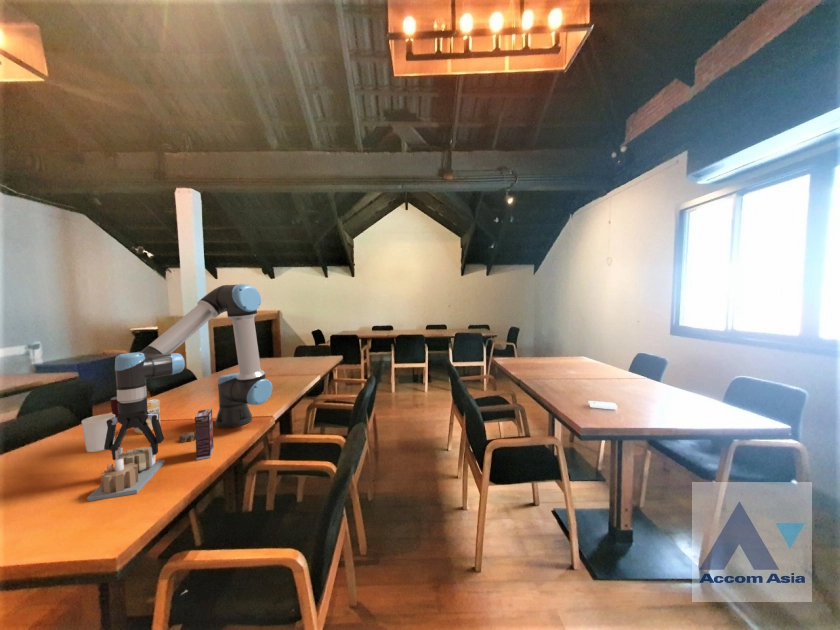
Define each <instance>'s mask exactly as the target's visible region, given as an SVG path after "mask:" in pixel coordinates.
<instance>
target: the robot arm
mask: <svg viewBox="0 0 840 630" xmlns="http://www.w3.org/2000/svg"><path fill="white" fill-rule="evenodd" d="M196 303H197V305H196V306H194V308H193V309H191V310H190V311H189V312H188V313H186V314H185V315H183V317H182V318H180V319H179V320H177V322H175V323H174V324H173V325H171V326H170V327H169V328H168V329H166V330H165V331H164V332H163V333H162V334H161V335H159V336H157V338H155V339H154V340H153V341H152V342H151V343H150V344H149V345H147V346H146V347H145V348H143V349H142V350H140V351H137V352H126V353H120V354H118V355H117V356H116V357H115V359H114V360H115V361H114V373H115V382H116V383H115V384H116V396H117V401H119V403H118V414H119V415H118V417H117V418H111V419H109V420H107V426H108V429H107V434H106V440H105V446H104V449H105V450H104V451H107V450H109V451H111V455H112V456H111V457H112V460H113V461H115V460H117V459H119V455H120V454H121V453H124V452H123V447H121V444H122V442H123V440H124V437H125V435H127V434H126V433H127V432H128V429H133V428H139V429H140V430H141V431H142V432H143V434H142V435H144V437H145V439H146V440H147V441H148V443H149V444H150V445H149V446H147V447H148V449H149V466H152V465H153V464H154V463H155V462H156V461H157V460H156V455H157V454H158V453H159V444H161V443H162V442H163V441H164V440H165V436H164V434H163V429H162V427H161V422H160V423H159V413H156V414H149V413H148V411H147V401H148V398H146V397H147V394H148V393H147V380H149V379H155V378H161V377H165V376H173V375H175V374H180V373H181V372H183V371H184V369H185V365H186V364H185V358H184V357H183V355H182V354H181V353H180V352H179V353H178V352H176V353H175V351H176V349H179V347H180V346H181V345H183V344H184V343H185V342H186V341H187V340H188V339H189V338H190V337H192V336H193V335H194V334H195V333H196V332H197V331H198V330H199V329H201V328H202V327H203V326H205V324H207V323H208V322H209V321H210V320H211V319H212V318H217V317H218V316H220V315H221V314H222V313H225V312H226V314H227V317H228V319H230V320H231V321H232V326H233V327H232V328H233V334H234V342H235V350H236V357H237V364H238V371H239V372H234V373H229V374H224V375H221V376H219V377H218V379H217V391H218V407H219V408H218V412H217V416H216V418H215V427H217V428H221V429H229V428H237V427H240V426H244V425H246V424H249V423H250V422H252V420H253V414H252V412H251V410H250V407H249V405H251V406H259V405H263V404H265V403H266V402H267V401H268V400H269V399H270V397H271V395H272V393H273V384H272V382H271V381H270V380H269V379H267V378H266V373H265V371H264V370H263V369H262V368H261V361H260V352H259V346H258V339H257V331H256V325H255V317H256V316H257V315H258V309H259V308H260V306H261V304H262V297H261V294H260V292H259V290H258V289H257V288H256V287H255V286H253V285H250V284H244V283H239V284H224V285H223V284H222V285H221V286H218V287H216V288H214V289H213V290H211V291H210V292H208V293H207V294H206V295H204V296H203V297H202V298H201V299H199V300H198V301H197V302H196ZM148 418H149V419H150V421H151V423H152V427H153V430H152V431H151V429H150V428H149V426H148V423H147V422H146V420H147V419H148ZM117 421H118V422H117ZM118 423H119V424H121V427H120V429H119V432H118V434H117V436H116V429H117V424H118ZM114 435H115V436H116V437H115V442H114V444H113V441H114Z"/></svg>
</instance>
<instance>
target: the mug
mask: <svg viewBox="0 0 840 630" xmlns="http://www.w3.org/2000/svg"><path fill="white" fill-rule="evenodd" d="M109 399H110V400H109V401H110V407H111V414H115V418H117V417H118V415H119V414H118V403H119V401H117V395H116V396H114V397H111V398H109ZM117 423H119V422H118V421H117Z"/></svg>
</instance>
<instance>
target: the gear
mask: <svg viewBox="0 0 840 630" xmlns="http://www.w3.org/2000/svg"><path fill="white" fill-rule="evenodd" d="M178 437H179V442H180V443H182V444H183V443H187V442H193V441H195V440H196V435H195V430H191V431H187V432H186V431H185V432H183V433H182V434H179V436H178Z"/></svg>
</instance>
